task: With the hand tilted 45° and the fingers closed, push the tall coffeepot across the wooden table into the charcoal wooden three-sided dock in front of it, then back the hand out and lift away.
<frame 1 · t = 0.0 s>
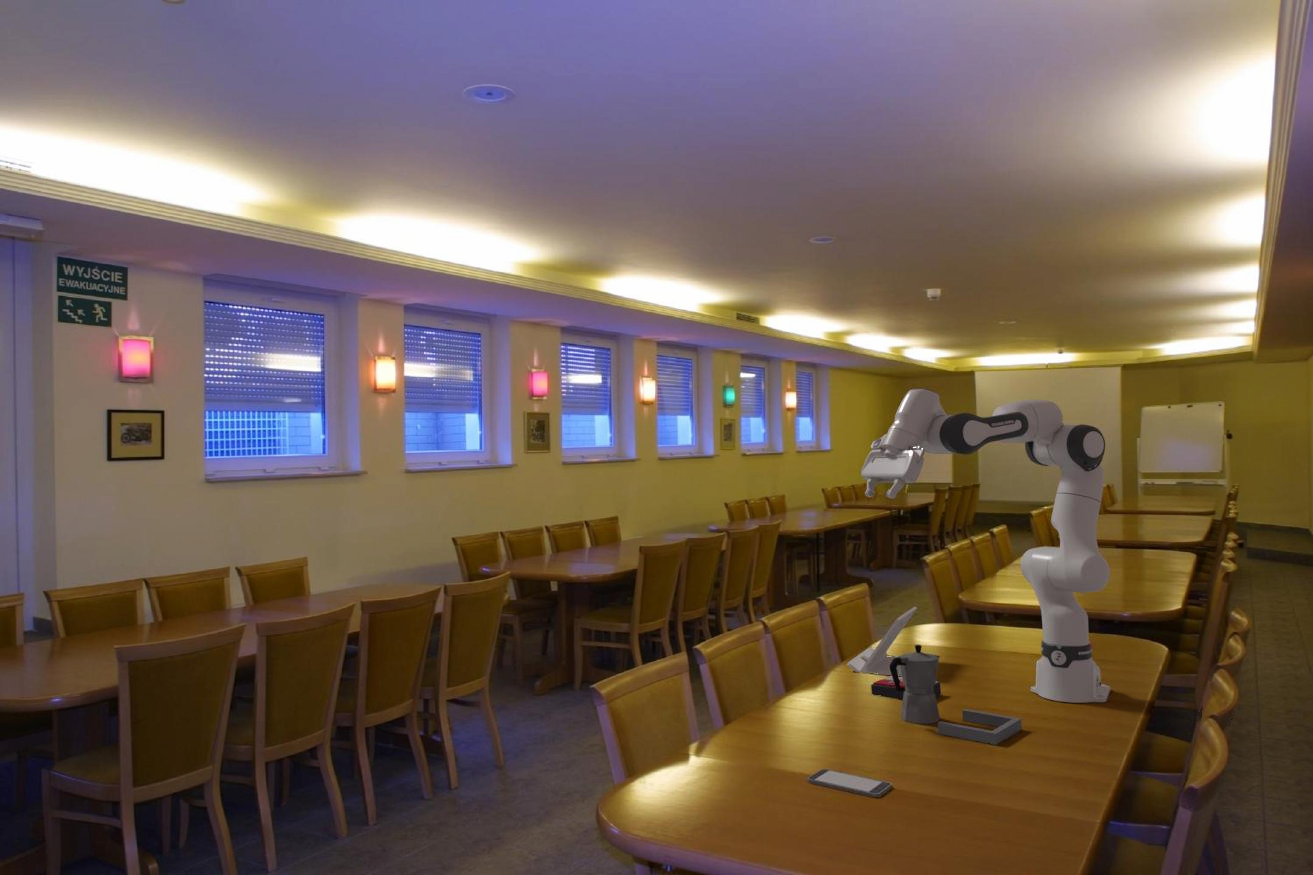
hand: (879, 496, 221), 54 cm above the table, tool tilted 30°, fingers open, 8 cm apart
calculator: (906, 696, 243), on the table
dock: (980, 731, 209), on the table
smartphone: (849, 787, 176), on the table
coffeepot: (916, 720, 219), on the table
tablet stand: (886, 667, 277), on the table
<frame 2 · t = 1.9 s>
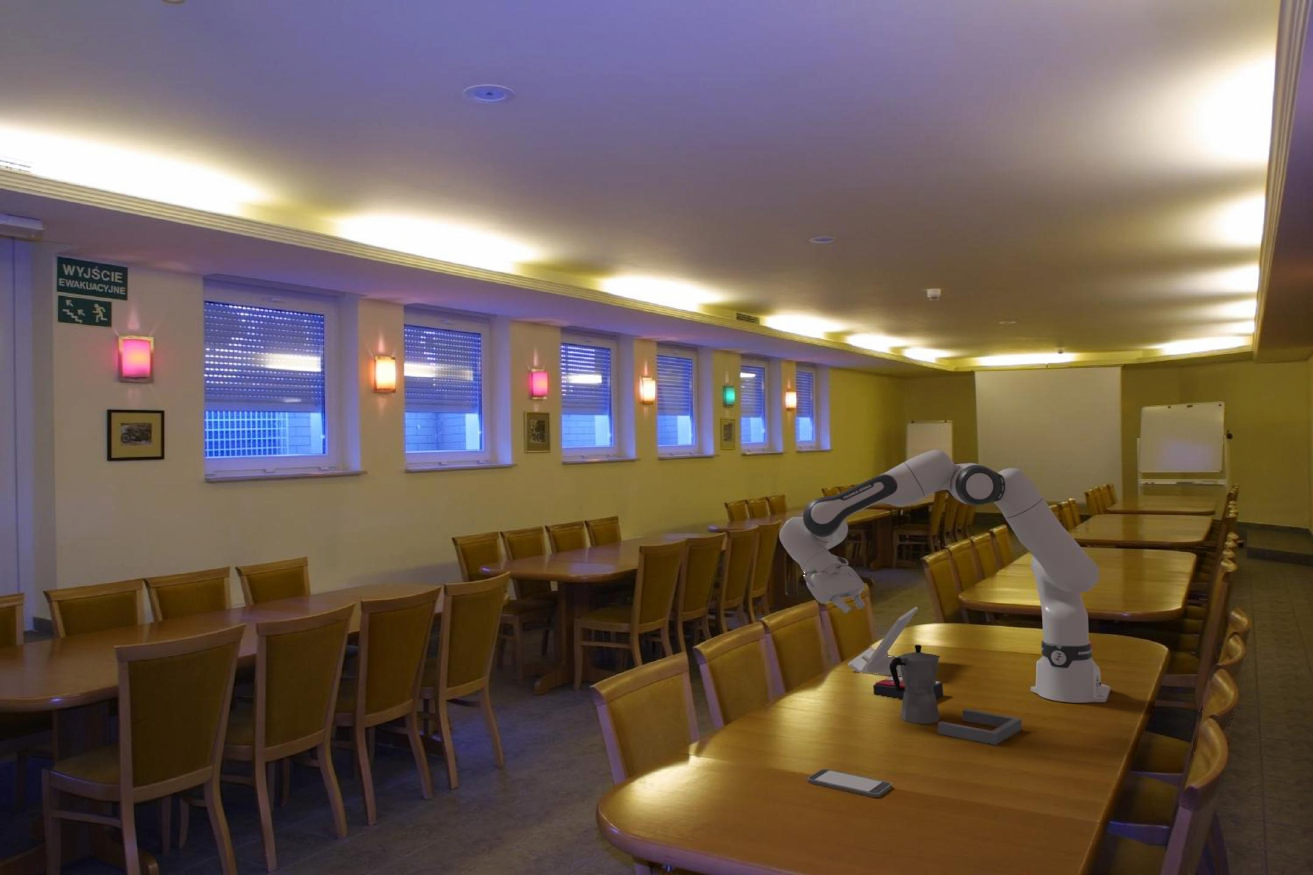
hand: (855, 609, 235), 24 cm above the table, tool tilted 45°, fingers open, 6 cm apart
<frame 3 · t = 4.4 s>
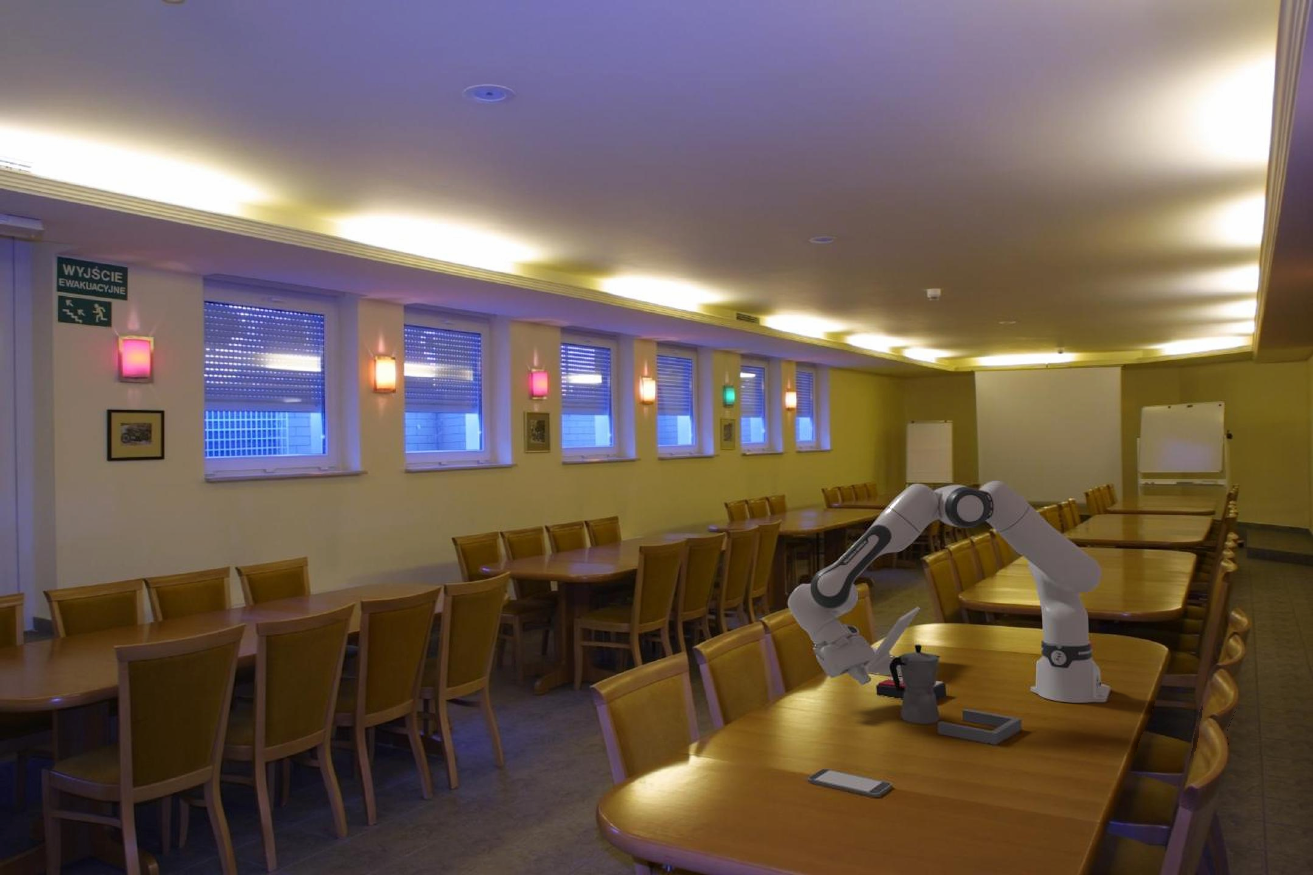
hand: (867, 682, 229), 7 cm above the table, tool tilted 45°, fingers closed
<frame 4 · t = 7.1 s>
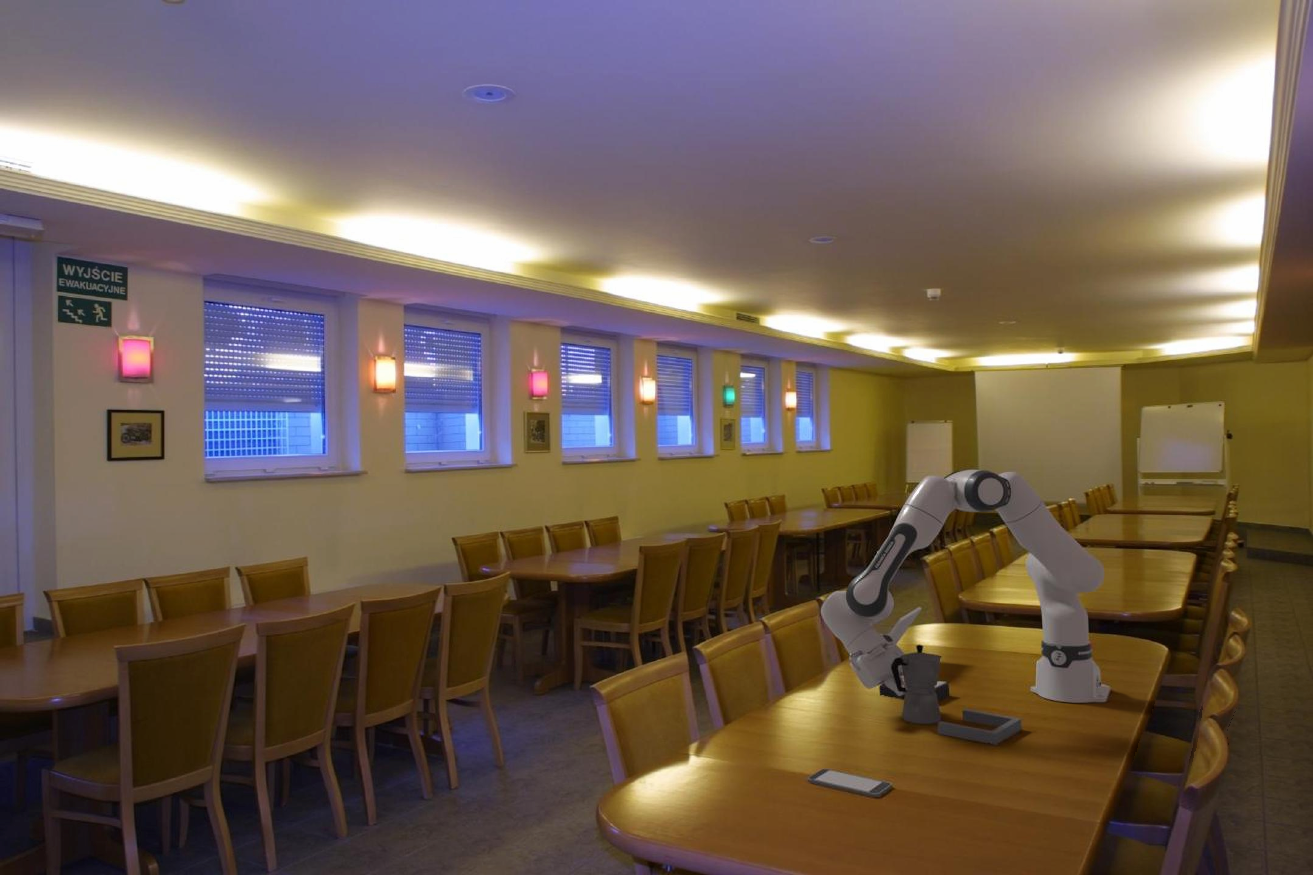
hand: (904, 693, 222), 6 cm above the table, tool tilted 45°, fingers closed, pressing on coffeepot
coffeepot: (918, 720, 219), on the table, touching gripper
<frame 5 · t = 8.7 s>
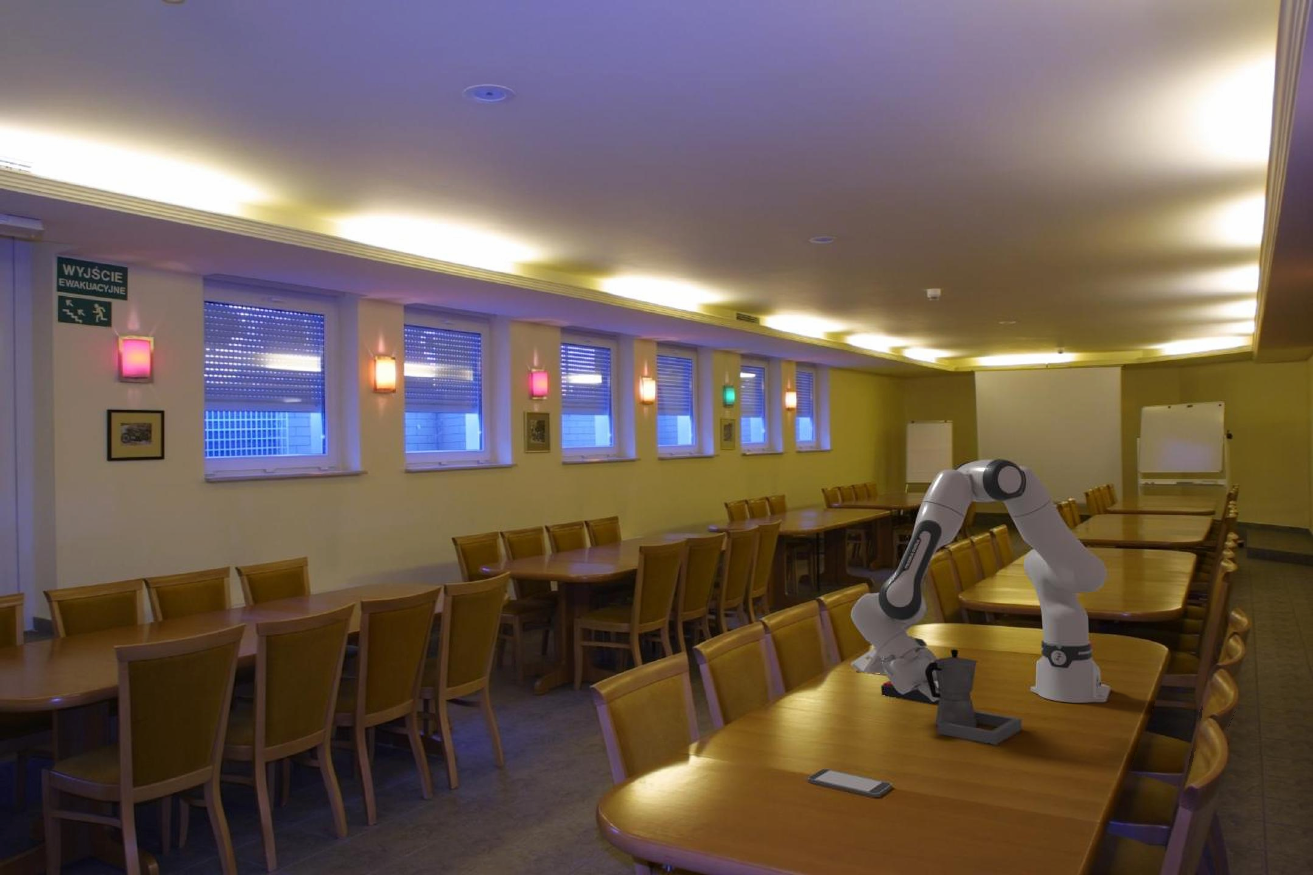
hand: (938, 699, 216), 6 cm above the table, tool tilted 45°, fingers closed, pressing on coffeepot
coffeepot: (952, 727, 213), on the table, touching gripper
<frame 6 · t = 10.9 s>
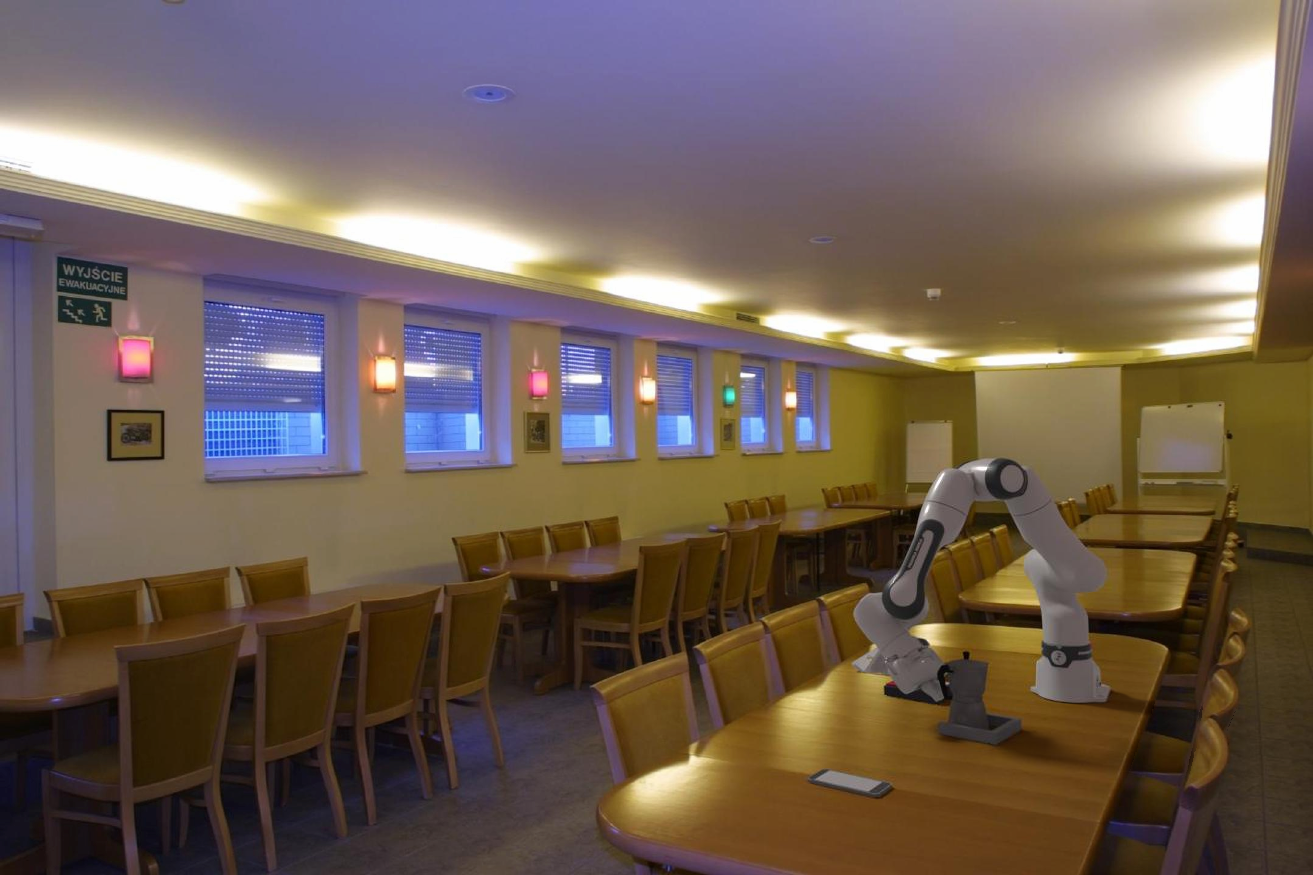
hand: (941, 698, 215), 6 cm above the table, tool tilted 45°, fingers closed
coffeepot: (964, 729, 211), on the table
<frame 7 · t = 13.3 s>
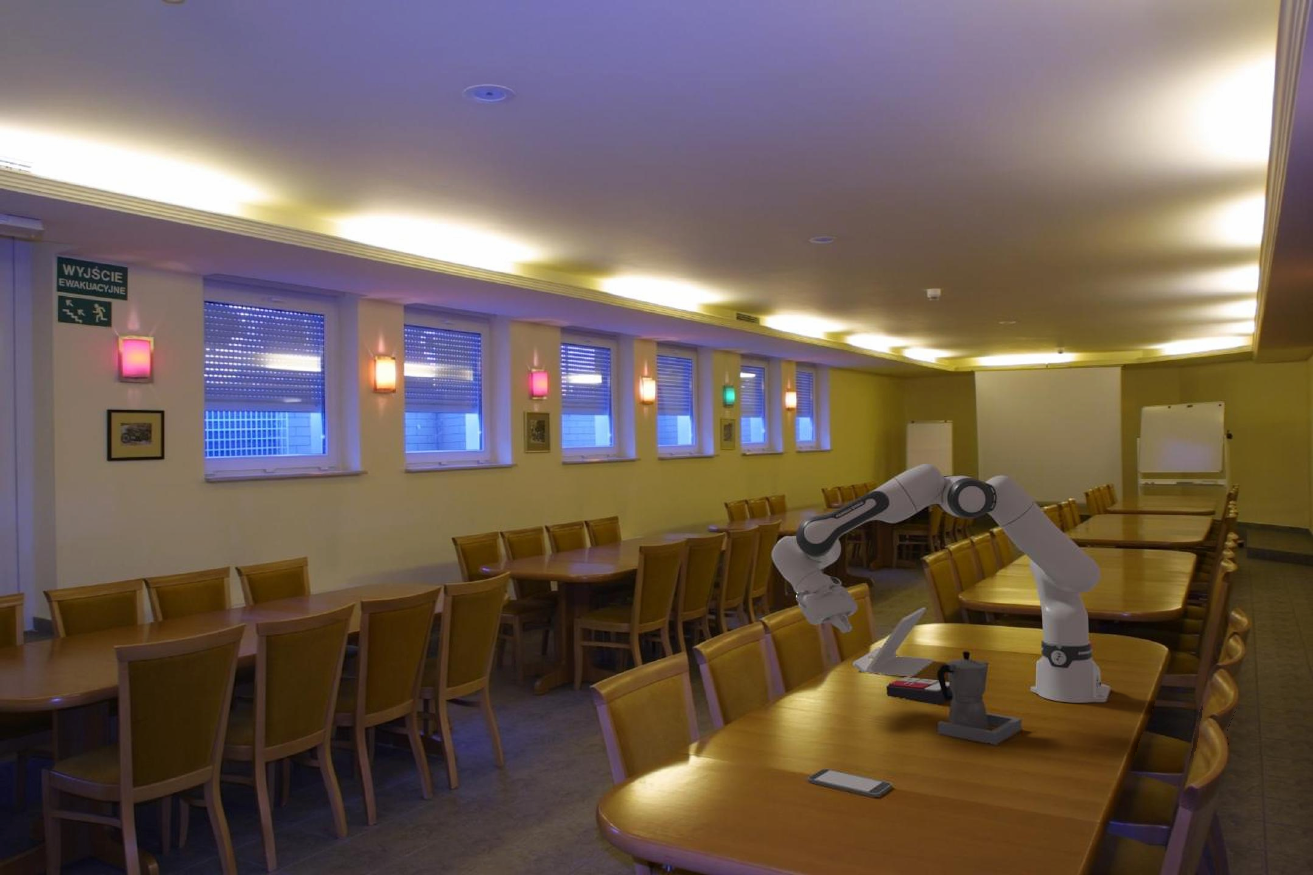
hand: (848, 630, 232), 19 cm above the table, tool tilted 45°, fingers closed
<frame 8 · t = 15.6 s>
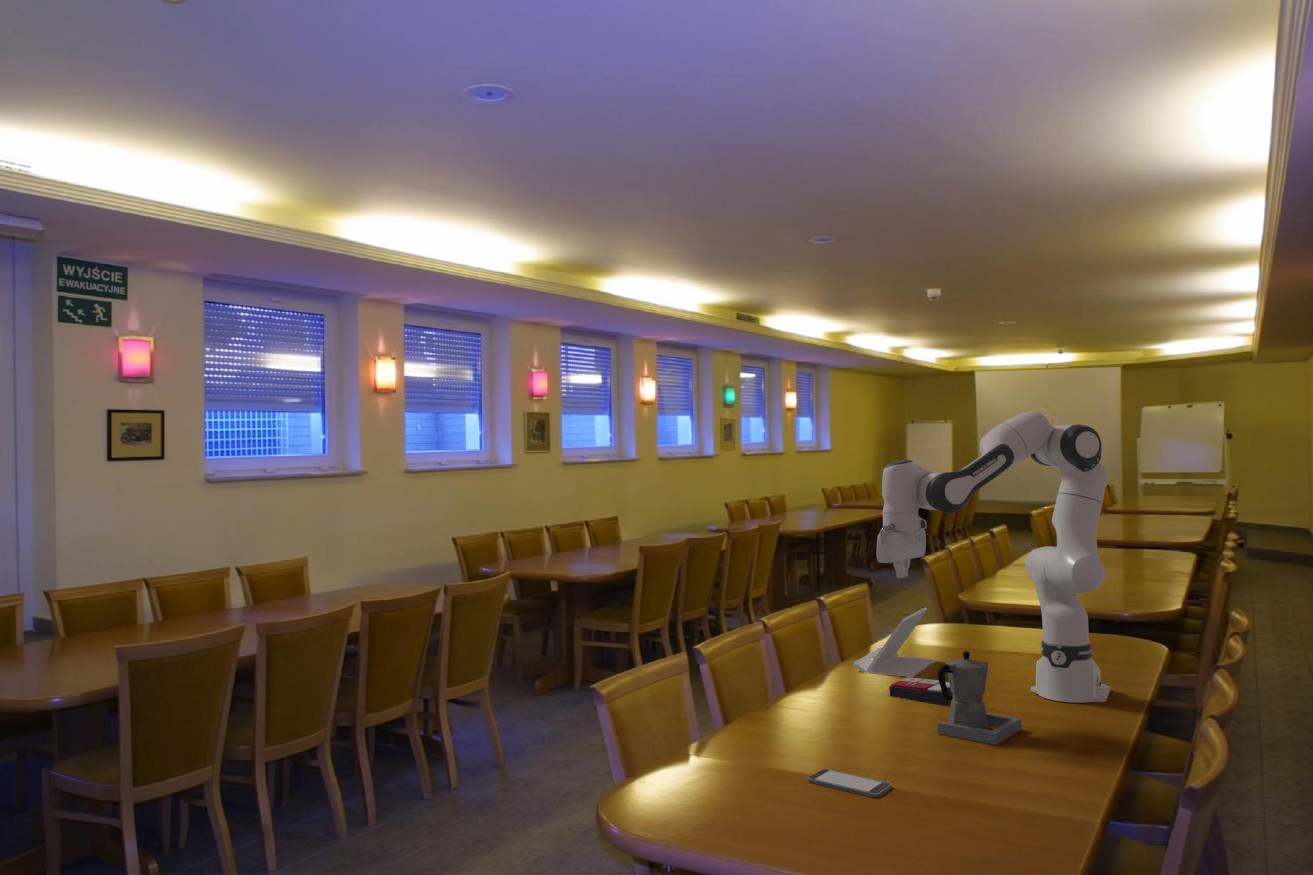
hand: (902, 577, 231), 33 cm above the table, tool pointing down, fingers closed
at the end: coffeepot inside the target area (1.0 cm from its centre), on the table; coffeepot tilted 0°; the gripper is holding nothing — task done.
